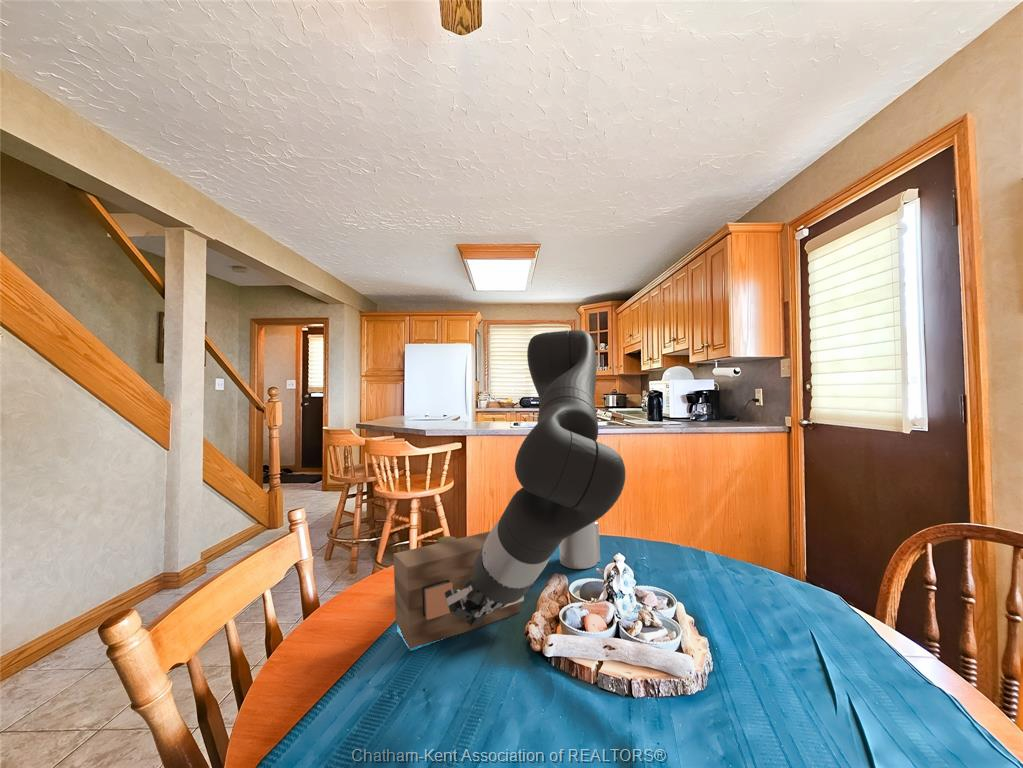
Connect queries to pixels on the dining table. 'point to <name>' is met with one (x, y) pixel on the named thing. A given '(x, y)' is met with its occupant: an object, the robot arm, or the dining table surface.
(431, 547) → the walnut panel
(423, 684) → the dining table surface
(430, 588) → the terracotta button
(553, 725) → the dining table surface
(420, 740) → the dining table surface
